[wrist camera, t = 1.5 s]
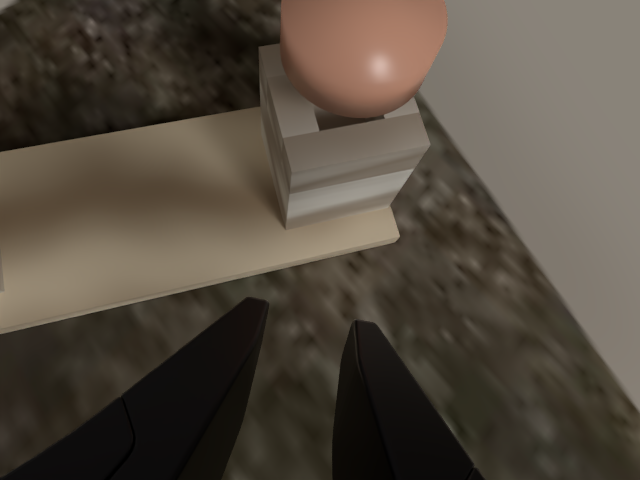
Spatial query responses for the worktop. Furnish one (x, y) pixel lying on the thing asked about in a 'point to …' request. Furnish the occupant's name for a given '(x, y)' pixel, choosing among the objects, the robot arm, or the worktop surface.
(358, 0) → the terracotta key
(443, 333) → the worktop surface
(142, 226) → the stand
